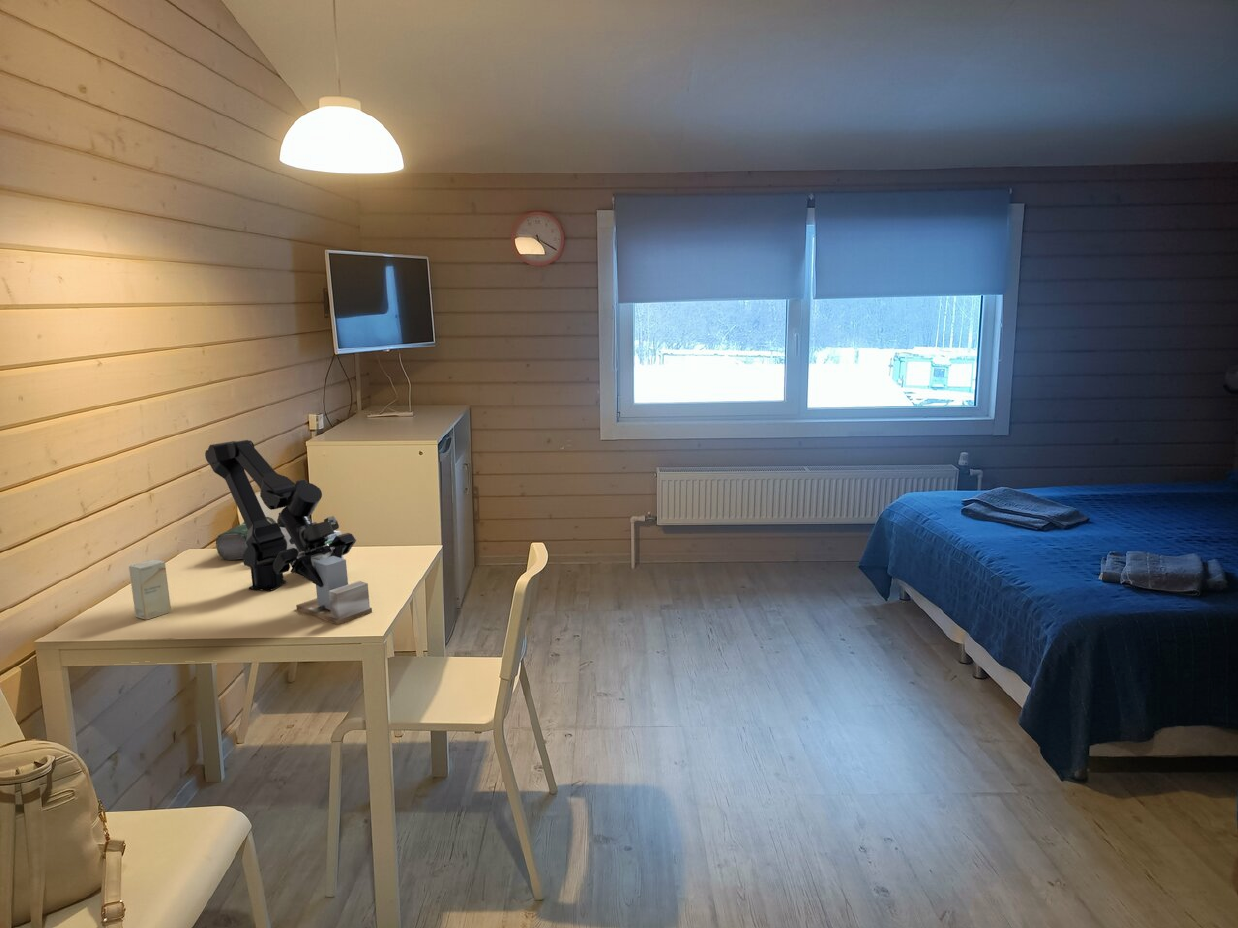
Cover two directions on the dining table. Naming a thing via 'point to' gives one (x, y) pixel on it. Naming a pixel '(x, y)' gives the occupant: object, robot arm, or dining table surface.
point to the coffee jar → (234, 542)
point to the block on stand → (341, 604)
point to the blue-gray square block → (330, 578)
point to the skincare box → (150, 589)
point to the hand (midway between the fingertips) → (332, 582)
